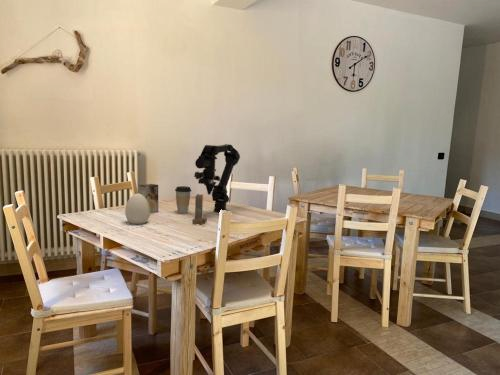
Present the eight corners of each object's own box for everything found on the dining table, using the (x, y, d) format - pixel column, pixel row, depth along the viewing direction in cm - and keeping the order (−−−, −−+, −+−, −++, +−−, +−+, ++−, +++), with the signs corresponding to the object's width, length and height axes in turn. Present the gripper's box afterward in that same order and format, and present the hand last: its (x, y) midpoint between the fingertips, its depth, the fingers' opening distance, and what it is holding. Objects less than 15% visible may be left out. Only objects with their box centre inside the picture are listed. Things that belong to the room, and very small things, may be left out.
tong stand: (197, 221, 203) (198, 194, 201) (206, 222, 202) (207, 194, 200) (192, 224, 196) (193, 196, 194) (201, 225, 195) (202, 196, 193)
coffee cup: (171, 212, 220) (171, 187, 218) (181, 210, 228) (181, 185, 226) (184, 215, 216) (184, 189, 213) (194, 212, 224) (194, 187, 222)
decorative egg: (155, 222, 197) (155, 193, 195) (137, 226, 187) (137, 196, 185) (138, 218, 203) (138, 190, 201) (120, 222, 193) (119, 193, 191)
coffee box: (151, 210, 224) (151, 183, 222) (158, 212, 221) (158, 184, 218) (138, 212, 217) (138, 184, 215) (145, 214, 213) (145, 186, 211)
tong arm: (197, 216, 199) (197, 194, 197) (202, 217, 198) (203, 194, 196) (195, 217, 198) (196, 194, 196) (201, 217, 197) (202, 195, 195)
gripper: (203, 165, 226) (202, 191, 228) (189, 167, 208) (189, 195, 210) (220, 166, 223) (219, 192, 225) (208, 169, 205) (208, 197, 207)
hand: (209, 194), depth 217 cm, fingers closed
